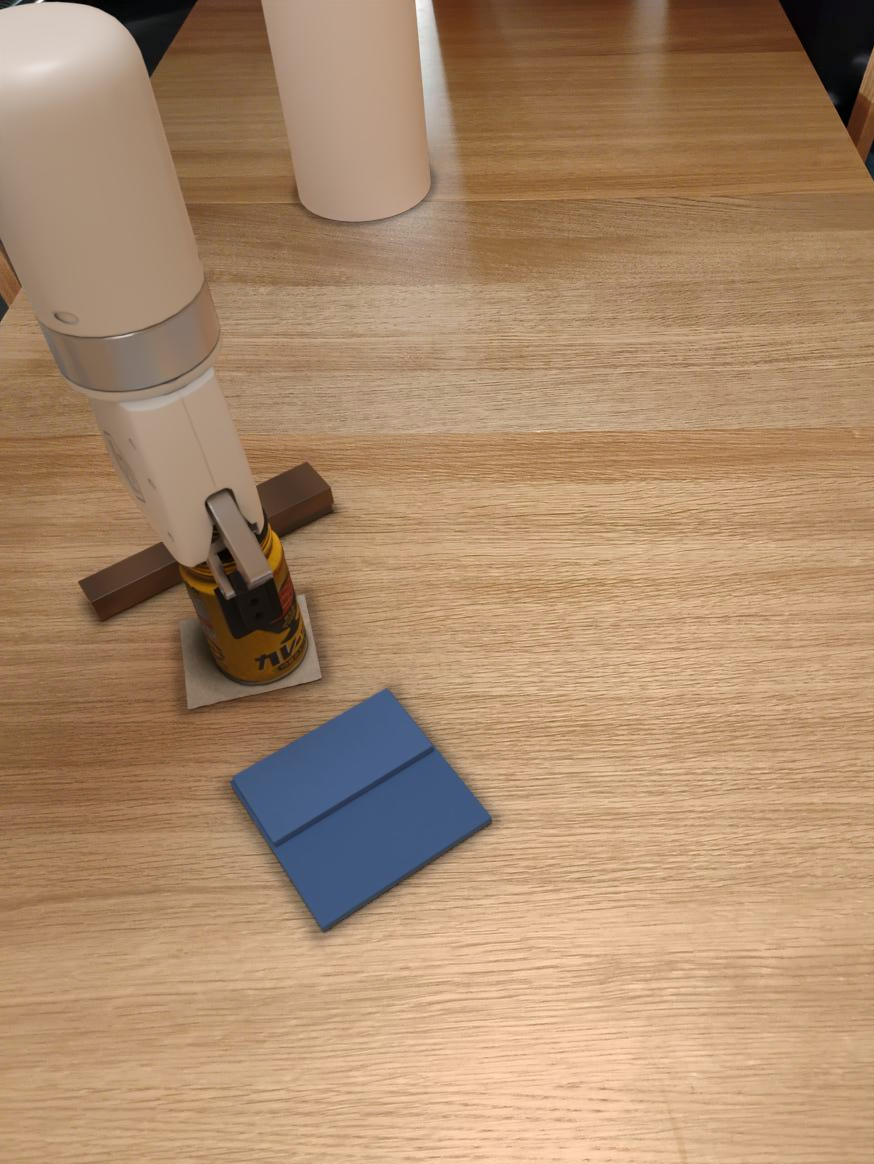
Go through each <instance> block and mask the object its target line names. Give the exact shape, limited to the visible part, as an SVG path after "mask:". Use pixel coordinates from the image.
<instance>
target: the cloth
mask: <svg viewBox="0 0 874 1164" xmlns="http://www.w3.org/2000/svg"><path fill="white" fill-rule="evenodd" d="M231 779H232V780H230V781H229V784H230V786H231V788H232V789H233V791H234V792H235V794H236V796H237V798H238V799H239V800H240V802H241V803H242V806H243V807H244V809H245V810H246V812H247V813H248V815H249V817H250V818H251V819H252V821H253V822H254V825H255V826H256V827H257V829H258V830H259V832H260V834H261V835H262V837H263V838H264V840H265V842H266V843H267V845H268V846H269V848H270V850H271V851H272V853H273V855H274V856H275V858H276V859H277V861H278V863H279V864H280V865H281V868H282V869H283V870H284V872H285V873H286V875H287V876H288V879H289V880H290V882H291V883H292V885H293V887H294V888H295V890H296V891H297V893H298V895H300V897H301V899H302V901H303V902H304V904H305V905H306V907H307V909H308V910H309V912H310V913H311V915H312V916H313V918H314V920H315V921H316V923H317V924H318V926H319V927H320V929H321V931H322V932H326V931H328V930H329V929H331V928H332V927H334V926H335V925H338V923H340V922H342V921H343V920H344V919H346V918H348V917H349V916H351V915H352V914H354V913H355V912H356V911H358V910H360V909H361V908H363V907H365V906H367V904H369V903H371V902H373V900H375V899H377V898H378V897H380V896H381V895H382V894H384V893H386V892H388V891H389V890H390V889H392V888H393V887H395V886H397V885H398V884H400V883H402V882H403V881H404V880H405V879H407V878H409V877H410V876H412V875H413V874H415V873H416V872H418V871H419V870H421V869H422V868H424V867H425V866H427V865H428V864H430V863H431V862H433V861H434V860H436V859H438V858H439V857H440V856H442V855H443V854H445V853H446V852H448V851H450V850H452V848H454V847H456V846H457V845H459V844H460V843H462V842H464V841H465V840H467V839H468V838H469V837H471V836H472V835H474V834H476V833H478V832H479V831H480V830H482V829H483V828H485V827H486V826H488V825H489V824H491V823H492V822H493V821H492V820H493V818H492V816H491V814H490V813H489V812H488V811H487V810H486V809H487V808H485V807H484V805H482V803H481V802H480V801H479V800H478V798H477V797H476V796H475V794H474V793H473V792H472V791H471V789H469V787H468V786H467V784H466V783H465V782H464V781H463V780H462V778H461V777H460V776H459V774H457V772H456V771H455V770H454V768H453V767H452V766H451V765H450V764H449V762H448V761H447V759H446V758H445V757H444V756H443V755H442V753H441V752H440V751H439V750H438V749H437V748H436V745H434V744H433V742H432V741H431V740H430V739H429V737H428V736H427V734H426V733H425V732H424V731H423V730H422V729H421V728H420V726H419V725H418V724H417V722H416V721H415V720H414V719H413V718H412V716H411V715H410V714H409V713H408V711H407V710H406V709H405V707H403V705H402V704H401V702H400V701H399V700H398V699H397V698H396V697H395V695H394V694H393V692H392V691H391V690H390V689H388V688H387V687H386V688H383V689H382V690H380V691H379V692H377V693H375V694H373V695H372V696H370V697H368V698H366V699H365V700H363V701H361V702H359V703H357V704H356V705H355V706H353V707H351V708H350V709H348V710H346V711H344V712H342V713H340V714H339V715H337V716H335V717H333V718H332V719H330V720H328V721H326V722H325V723H323V724H321V725H320V726H318V727H316V728H314V729H313V730H311V731H309V732H307V733H306V734H304V735H302V736H301V737H299V738H296V740H294V741H292V742H290V743H288V744H287V745H285V746H283V747H282V748H280V749H278V750H276V751H274V752H273V753H271V754H270V755H267V756H266V757H264V758H263V759H261V760H259V761H257V762H256V763H254V764H252V765H250V766H249V767H247V768H245V769H243V770H242V771H240V772H238V773H237V774H235V775H233V776H232V777H231Z"/></svg>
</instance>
